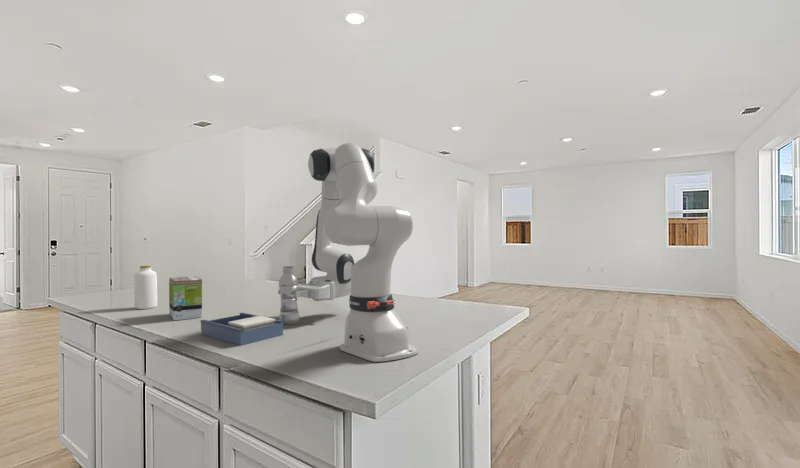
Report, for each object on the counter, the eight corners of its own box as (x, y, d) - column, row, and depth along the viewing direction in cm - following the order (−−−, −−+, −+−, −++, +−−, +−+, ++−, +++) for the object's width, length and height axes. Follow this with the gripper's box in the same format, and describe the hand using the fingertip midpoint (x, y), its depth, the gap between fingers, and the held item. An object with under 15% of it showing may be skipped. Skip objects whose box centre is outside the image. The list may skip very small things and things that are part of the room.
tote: (283, 337, 126) (283, 320, 126) (240, 348, 115) (240, 330, 115) (242, 327, 139) (242, 312, 139) (200, 336, 128) (200, 320, 128)
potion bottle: (152, 305, 184) (151, 264, 184) (161, 307, 179) (160, 265, 179) (131, 308, 177) (130, 266, 177) (140, 310, 172) (139, 267, 172)
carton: (275, 335, 125) (275, 319, 125) (244, 343, 117) (243, 325, 117) (259, 331, 130) (259, 315, 130) (228, 338, 122) (227, 321, 122)
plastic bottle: (294, 327, 139) (293, 267, 139) (275, 326, 140) (274, 267, 140) (302, 323, 145) (301, 266, 145) (284, 322, 146) (283, 265, 146)
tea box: (203, 317, 157) (202, 278, 156) (173, 321, 151) (172, 280, 151) (197, 311, 169) (196, 275, 169) (168, 314, 163) (168, 277, 163)
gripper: (302, 278, 159) (270, 281, 149) (337, 282, 146) (304, 286, 135) (302, 294, 159) (270, 299, 149) (337, 299, 146) (305, 305, 135)
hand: (287, 293), depth 142 cm, fingers open, 8 cm apart
